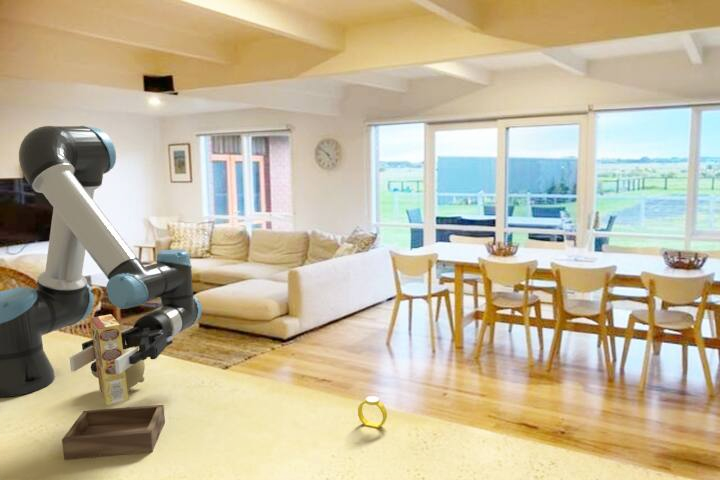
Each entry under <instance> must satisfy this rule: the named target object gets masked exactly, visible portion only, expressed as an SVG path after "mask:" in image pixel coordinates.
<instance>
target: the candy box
mask: <svg viewBox="0 0 720 480" xmlns="http://www.w3.org/2000/svg"><path fill="white" fill-rule="evenodd" d="M90 325H91V334H92V340H93V342H94V350H95V358H96V359H95V361H96V366H97V373H98V378H97V379H98V385H99V387H98V388H99V392H100V394H101V396H102V398H103V400H104V402H105V403H106V406H110V405H113V404H118V403H122V402H126V401H128V400H129V391H128V390H127V381H126V372H125V371H123V372H122V373H120V374H116V369H115V359H117V358H118V357H120V356H121V355H123V347H122V338H121V331H122V330H121V324H120V323H119V322H118V321H117V319H116V318H115V317H114V316H113V315H112V314H111V313H109V314H106V315H99V316H93V317H90Z"/></svg>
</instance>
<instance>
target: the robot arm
mask: <svg viewBox="0 0 720 480" xmlns="http://www.w3.org/2000/svg"><path fill="white" fill-rule="evenodd" d="M116 161H117V151H116V147H115V145H114V143H113V141H112V140H111V138H110V136H109V135H108V133H106V132H105V131H103V130H102V129H100V128H97V127H91V126H84V125H79V126H76V125H75V126H74V125H73V126H71V125H70V126H69V125H68V126H63V125H62V126H61V125H60V126H59V125H57V126H54V125H44V126H39V127H37V128H35V129H32V131H30V132H28V133H27V135H25V136H24V138H23V139H22V141H21V142H20V147H19V148H18V163H19V167H20V170H21V172H22V174H23V176H24V179H25V180H26V181H27V183H28V184H29V185H30V186H31V188H32V189H33V190H34V192H35V193H41V194H43V196H45V199H46V200H47V201H48V202H49V204H50V205H51V206H52V207H53V209H52V216H51V225H50V232H49V238H48V239H49V240H48V241H49V242H48V248H47V249H48V250H47V255H46V264H45V271H43V272H42V273H40V274H39V275H38V276H37V282H36V288H33V287H32V286H31V287H29V286H21V287H19V286H17V287H14V288H12V289H11V288H10V289H9V288H8V289H5V290H1V291H0V398H8V397H15V396H21V395H25V394H29V393H32V392H36V391H38V390H41V389H43V388H46V387H47V386H49V385H50V384H51V383H53V381H54V380H55V378H56V377H55V370H54V367H53V365H52V364H51V362H50V360H49V358H48V356H47V354H46V352H45V351H44V345H43V337H42V336H44V335H47V334H50V333H52V332H55V331H57V330H58V331H59V330H61V329H63V328H66V327H70V326H74V325H75V324H78V323H79V322H80V321H83V320H84V319H86V318H87V317H88V316H89V315H90V314H91V312H92V310H93V308H94V304H95V297H94V293H93V292H92V290H93V289H92V288H91V286H90V285H89V284H88V279H87V278H86V276H84V275H83V268H84V261H85V255H86V252H87V253H88V254H89V256H90V257H91V258H92V259H93V261H94V262H95V263H96V265H97V267H99V269H100V270H101V272H102V273H103V274H104V275H105V277H106V278H107V279H108V281H107V283H106V287H105V288H106V289H105V291H106V293H107V298H108V300H109V302H110V303H111V304H112V305H113V306H115V308H119V309H122V310H125V309H130V308H135V307H139V306H141V305H143V304H145V303H147V302H151V301H153V300H155V299H158V298H160V304H161V305H160V306H159V307H158V308H156V309H154V310H152V311H150V312H148V313H146V314H144V315H143V316H141V317H139V318H138V319H137V320H136V321H135V323H134V325H133V327H131V328H129V329H128V330H126V331H122V332H121V338H122V347H123V349H128V350H130V351H128V352H126V353H125V354H123V355H121V356H120V357H118V358H117V359H115V369H116V374H120V373H122V372H123V371H125V370H126V369H128V368H129V367H131V366H132V365H134V364H135V363H137V362H139V361H140V360H144V361H145V360H147V358H149V359H150V360H157V358H158V357H159V356H160V355H161V353H163V352H164V350H166V348H167V347H168V346H170V345H172V344H173V343H174V342H173V338H174V337H175V336H177V335H179V334H180V333H181V332H183V331H185V330H186V329H188V328H190V327H192V326H193V325H194V324H195V323H196V322H197V321H198V320H199V319H200V318H201V316H202V310H203V307H202V304H201V303H200V301H199V299H198V298H197V297H196V296H194V289H193V275H192V264H191V258H190V253H189V251H187V250H186V249H179V248H177V249H175V248H174V249H166V250H162V251H161V250H160V251H159V252H158V253H157V254H156V263H154V264H150V265H147V266H144V264H143V263H142V262H141V260H140V259H139V258H138V257H137V255H136V254H135V253H134V252H133V250H132V249H131V247H130V246H129V245H128V244H127V242H126V241H125V240H124V238H123V237H122V236H121V235H120V234H119V232H118V231H117V230H116V228H115V227H114V226H113V224H112V223H111V222H110V219H108V218H107V215H105V214H104V213H103V211H102V209H100V207H99V205H97V203H96V202H95V201H94V194H95V190H96V189H98V188H100V187H101V186H103V185H102V184H103V178H104V174H107V173H108V172H110V171H111V170H112V169H113V168H114V166H115V165H116ZM81 348H82V349H81V351H80V352H77V353H75V354H73V355H72V356H70V357H69V364H70V372H76V371H78V370H79V369H81V368H83V367H85V366H87V365H88V364H90V363H91V362H92V363H93V362H95V361H96V358H95V350H94V342H93V339H91V340H88V341H85V342H83V343H81Z"/></svg>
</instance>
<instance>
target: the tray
mask: <svg viewBox="0 0 720 480" xmlns="http://www.w3.org/2000/svg"><path fill="white" fill-rule="evenodd" d="M164 406H165V405H164V404H154V405H141V406H140V405H139V406H127V407H116V408H104V409H102V408H101V409H91V410H90V409H89V410H83V411H82V412H81V413H80V414H79V416H78V418H77V419H76V420H75V422H74V423H73V424H72V425H71V427H69V430H68V431H67V433H66V434H64V436H63V437H62V438H61V446H62V453H63V460H64V461H65V460H75V459H86V458H97V457H98V458H99V457H109V456H120V455H132V454H133V455H134V454H144V453H153V452H154V449H155V447H156V444H157V443H158V439H159V437H160V435H161V433H162V430H163V428H164V426H165V423H166V420H165V419H166V418H165V407H164Z"/></svg>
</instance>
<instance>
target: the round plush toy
mask: <svg viewBox="0 0 720 480" xmlns="http://www.w3.org/2000/svg"><path fill="white" fill-rule="evenodd" d="M130 350H131V349H129V348H128V349H123V354H125V353H126V352H128V351H130ZM145 368H146V366H145V360H140V361H139V362H137V363H135V364H134V365H132V366H131V367H129V368H128V369H126V370H125V372H126V381H127V390H128V392H129V391H130V390H131V388H133V387H135V386H136V385H137V384H138V383H144V382H145V376H144V374H145ZM90 370H91V374H92V376H93V377H95V378H97V379H98V373H97V366H96V360H94V361H92V363H91V364H90Z"/></svg>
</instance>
